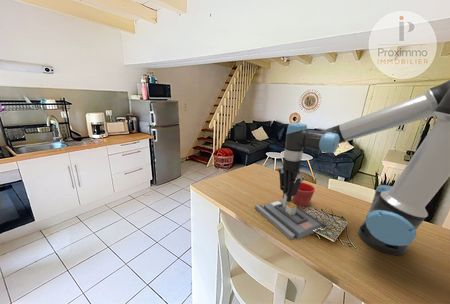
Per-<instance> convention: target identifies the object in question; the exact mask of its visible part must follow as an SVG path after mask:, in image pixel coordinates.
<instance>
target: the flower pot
mask: <svg viewBox="0 0 450 304" xmlns="http://www.w3.org/2000/svg"><path fill="white" fill-rule="evenodd" d="M314 192H315V187H314V186H313V185H311V184H309V183H306V182H303V181H302V182H301V184H300V186H299V189H298V191H297V193H296V195H294V196H292V200H293V203H294V204H295V205H297V206H300V207H307V206H309V204H310V202H311V200H312V198H313V196H314Z"/></svg>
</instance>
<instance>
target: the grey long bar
mask: <svg viewBox="0 0 450 304" xmlns="http://www.w3.org/2000/svg"><path fill="white" fill-rule="evenodd" d="M254 208H255V210H256V211H257V212H259V213H260V214H261V215H262V216H263V217H264V218H265V219H266V220H268V221H269V222H270V224H272V225H274V226H275V228H277V229H278V230H279V231H280V232H281V233H282V234H283V235H285V236H286V237H287V238H288V239H289V240H294V239H297V238H296V236H297V235H296V234H295V233H294V232H293V231H291V230H290V229H289V228H288V227H286V226H285V225H284V224H283V223H282V222H280V221H279V220H278V219H277V218H275V217H274V216H273V215H272V214H271V213H269V212H268V211H267V210H266V209H264V206H262V205H261V204H255V205H254Z"/></svg>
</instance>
